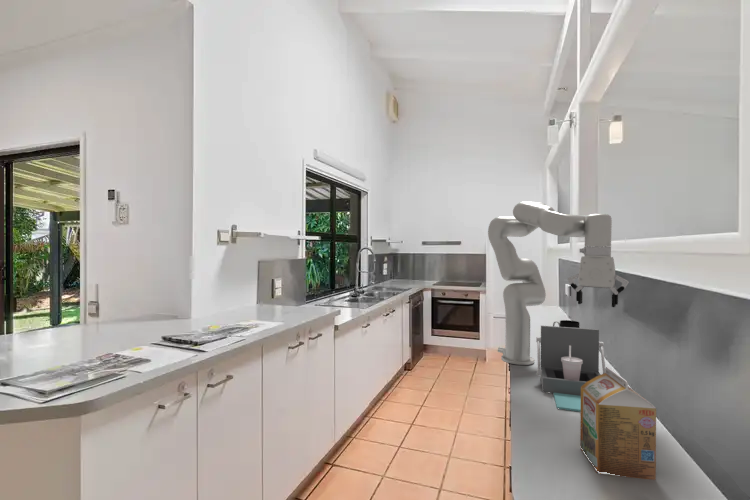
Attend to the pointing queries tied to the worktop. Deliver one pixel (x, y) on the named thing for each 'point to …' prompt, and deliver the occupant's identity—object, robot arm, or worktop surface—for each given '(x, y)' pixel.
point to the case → (558, 346)
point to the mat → (568, 401)
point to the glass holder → (568, 323)
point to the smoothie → (571, 367)
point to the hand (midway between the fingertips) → (596, 305)
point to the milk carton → (618, 427)
